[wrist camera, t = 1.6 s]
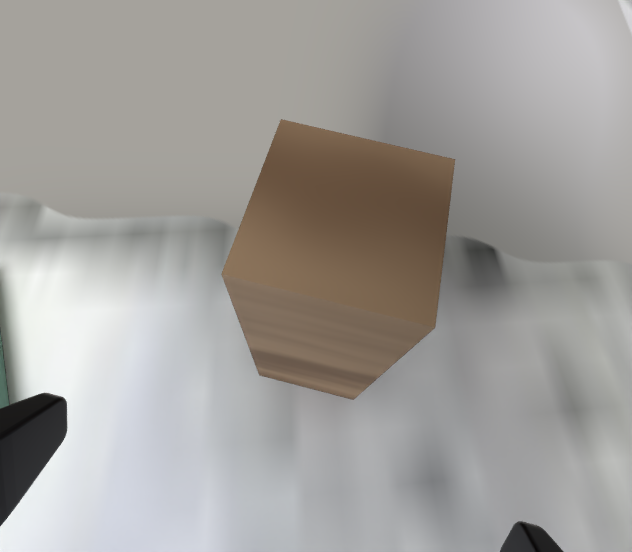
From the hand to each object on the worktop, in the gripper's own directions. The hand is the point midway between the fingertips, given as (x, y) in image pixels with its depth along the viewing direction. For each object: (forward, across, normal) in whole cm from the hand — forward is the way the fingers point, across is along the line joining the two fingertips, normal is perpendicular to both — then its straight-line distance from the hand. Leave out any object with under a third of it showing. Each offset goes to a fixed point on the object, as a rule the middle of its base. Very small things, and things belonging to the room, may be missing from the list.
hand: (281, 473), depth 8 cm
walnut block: (+13, 0, +4) cm, 14 cm away
